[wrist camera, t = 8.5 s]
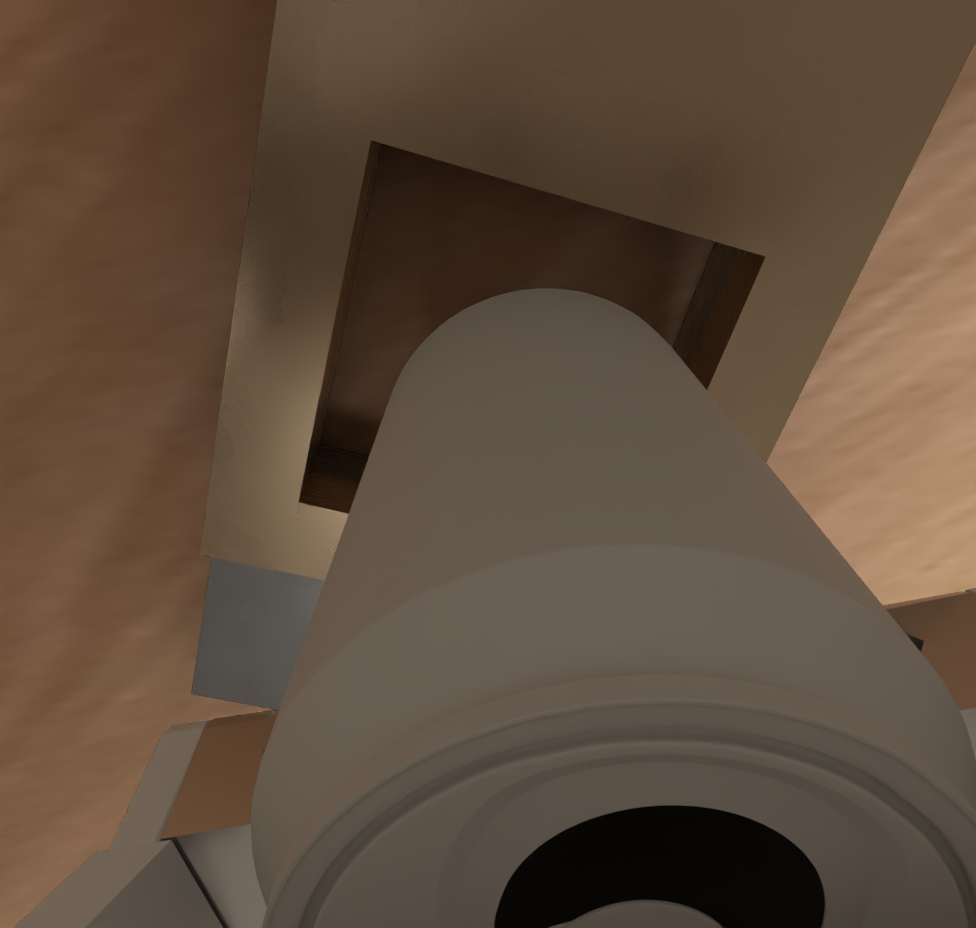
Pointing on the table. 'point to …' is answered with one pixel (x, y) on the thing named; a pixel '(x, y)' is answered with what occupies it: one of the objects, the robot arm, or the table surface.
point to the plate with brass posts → (561, 171)
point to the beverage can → (599, 669)
